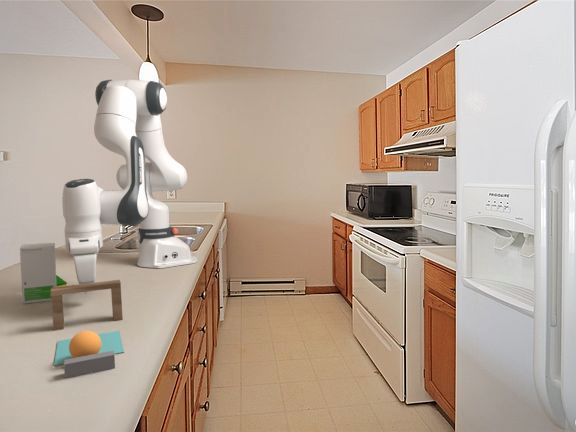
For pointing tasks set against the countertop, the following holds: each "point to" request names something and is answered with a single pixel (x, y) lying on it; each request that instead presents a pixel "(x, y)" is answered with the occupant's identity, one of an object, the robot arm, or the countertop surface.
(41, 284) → the skincare box
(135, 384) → the countertop surface
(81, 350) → the ball
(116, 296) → the bridge
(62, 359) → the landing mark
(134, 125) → the robot arm
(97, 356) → the stopper
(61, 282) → the dish sponge
